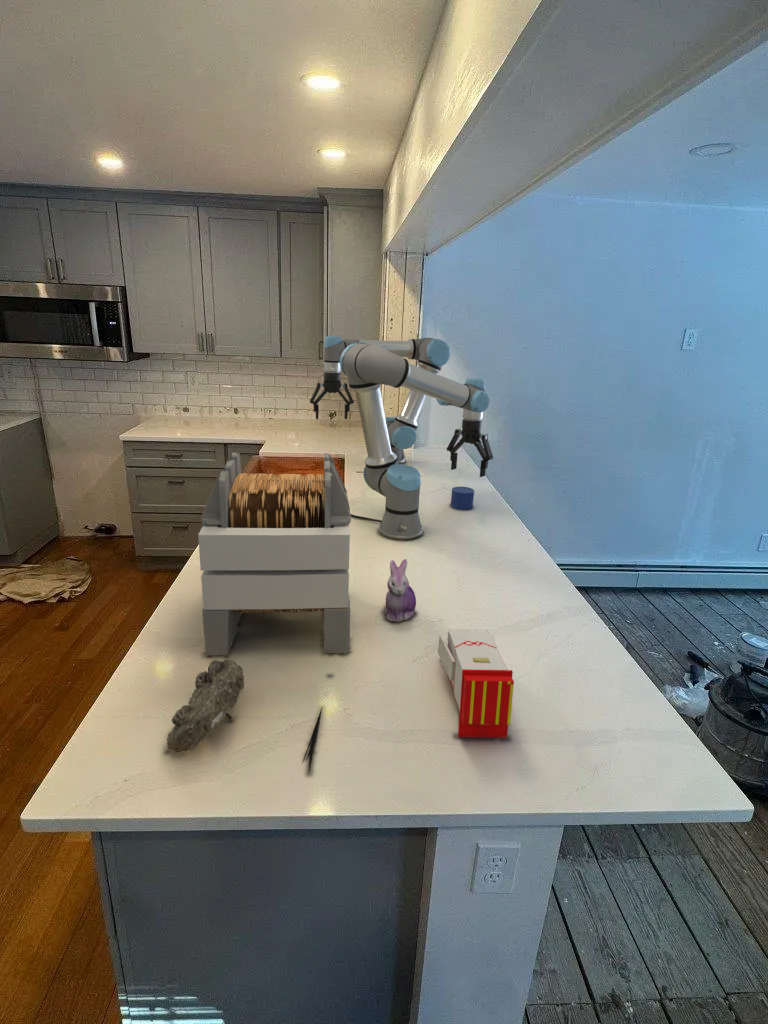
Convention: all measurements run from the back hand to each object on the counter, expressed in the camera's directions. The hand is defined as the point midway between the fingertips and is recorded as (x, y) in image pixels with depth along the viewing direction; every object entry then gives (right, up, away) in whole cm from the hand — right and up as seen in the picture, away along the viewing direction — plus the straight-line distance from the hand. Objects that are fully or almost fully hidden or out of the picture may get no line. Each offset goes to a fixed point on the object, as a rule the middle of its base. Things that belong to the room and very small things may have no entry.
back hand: (331, 418), depth 263 cm
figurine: (+28, -70, -116) cm, 138 cm away
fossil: (-8, -82, -155) cm, 176 cm away
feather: (+12, -83, -155) cm, 176 cm away
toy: (+42, -81, -145) cm, 171 cm away
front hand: (+58, -28, -39) cm, 75 cm away
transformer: (-1, -70, -120) cm, 139 cm away
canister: (+56, -41, -32) cm, 77 cm away
